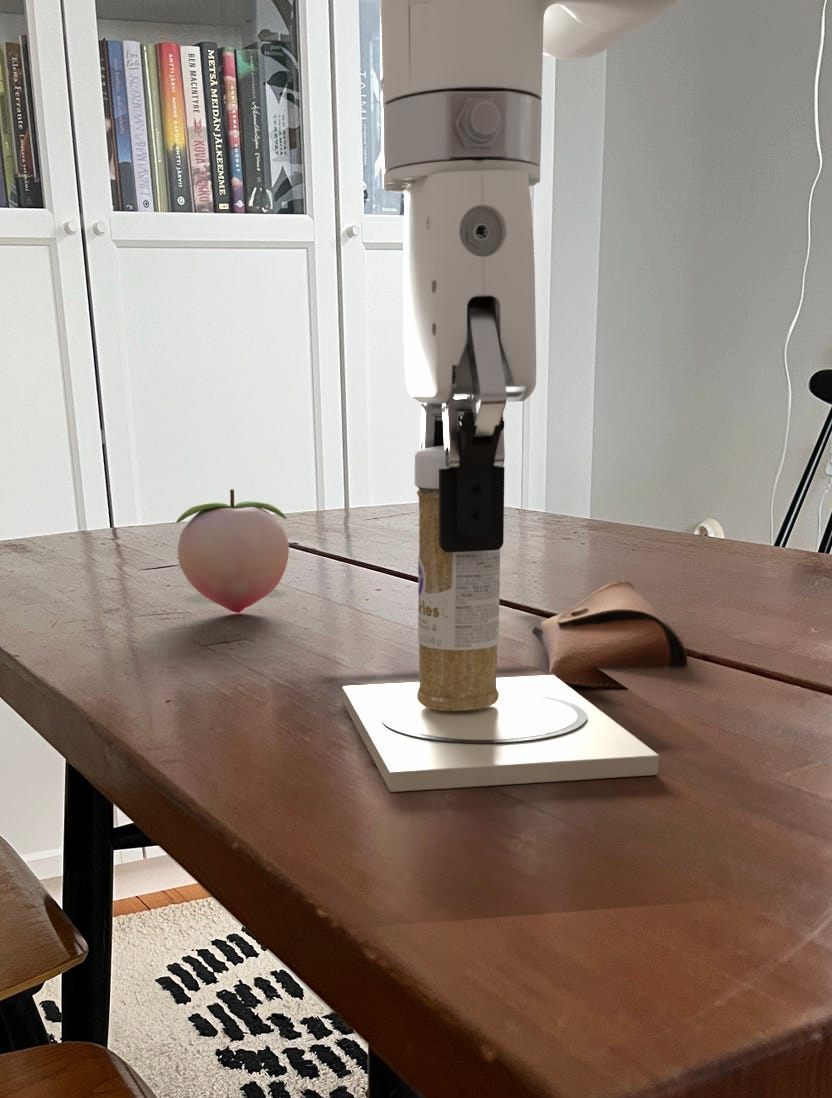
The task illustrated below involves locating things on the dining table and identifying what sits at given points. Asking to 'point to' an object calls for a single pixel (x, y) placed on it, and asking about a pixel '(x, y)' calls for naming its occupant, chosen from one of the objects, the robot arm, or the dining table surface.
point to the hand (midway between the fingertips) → (459, 540)
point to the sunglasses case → (608, 637)
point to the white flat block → (493, 737)
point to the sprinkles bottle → (453, 608)
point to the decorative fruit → (233, 551)
